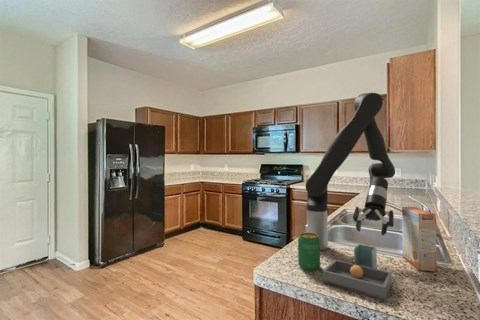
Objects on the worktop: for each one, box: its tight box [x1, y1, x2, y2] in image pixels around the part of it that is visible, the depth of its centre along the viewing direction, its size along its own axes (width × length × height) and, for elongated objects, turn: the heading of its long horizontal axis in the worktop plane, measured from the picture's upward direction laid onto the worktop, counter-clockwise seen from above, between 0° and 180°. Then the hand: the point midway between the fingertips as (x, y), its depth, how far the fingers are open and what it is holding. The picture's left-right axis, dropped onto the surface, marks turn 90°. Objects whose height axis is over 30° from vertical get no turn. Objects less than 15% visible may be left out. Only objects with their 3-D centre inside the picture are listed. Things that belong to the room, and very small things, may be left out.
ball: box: [350, 265, 363, 278], centre depth 84 cm, size 4×4×4 cm
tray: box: [322, 259, 393, 302], centre depth 82 cm, size 18×12×4 cm, turn 51°
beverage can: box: [297, 232, 321, 272], centre depth 96 cm, size 8×8×12 cm
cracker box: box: [401, 206, 437, 273], centre depth 97 cm, size 14×6×21 cm, turn 168°
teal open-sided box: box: [353, 244, 378, 269], centre depth 91 cm, size 6×6×8 cm
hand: (370, 232), depth 98 cm, fingers open, 8 cm apart
